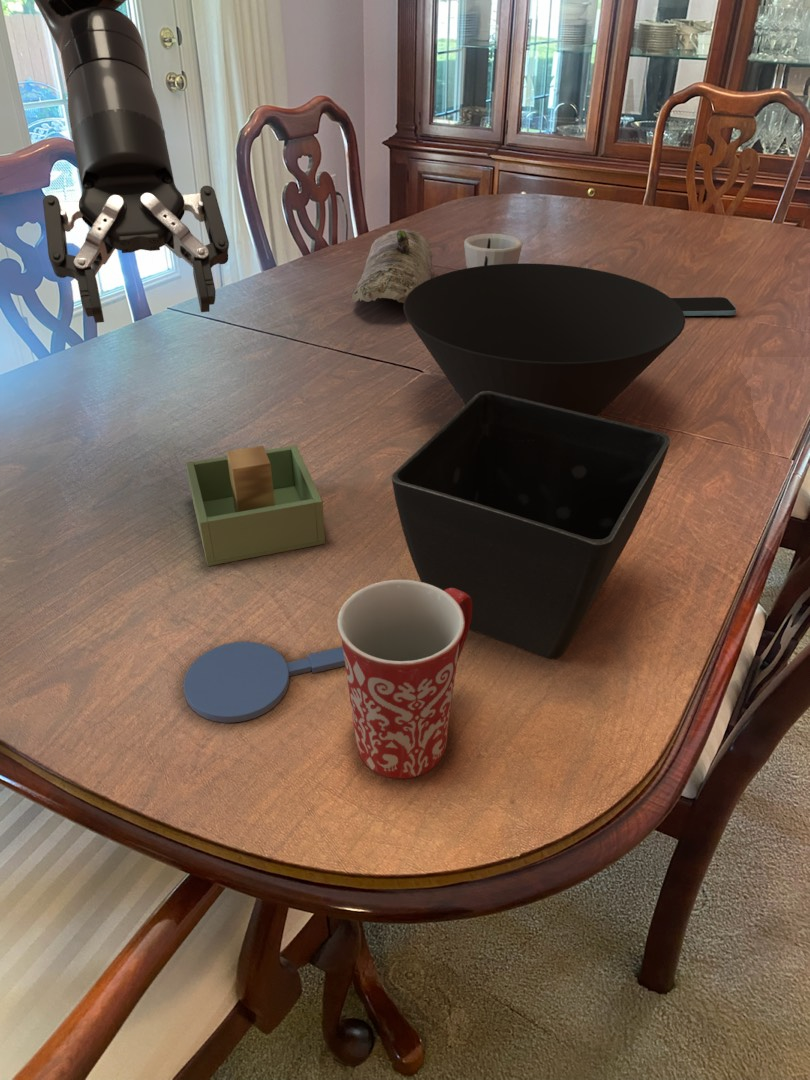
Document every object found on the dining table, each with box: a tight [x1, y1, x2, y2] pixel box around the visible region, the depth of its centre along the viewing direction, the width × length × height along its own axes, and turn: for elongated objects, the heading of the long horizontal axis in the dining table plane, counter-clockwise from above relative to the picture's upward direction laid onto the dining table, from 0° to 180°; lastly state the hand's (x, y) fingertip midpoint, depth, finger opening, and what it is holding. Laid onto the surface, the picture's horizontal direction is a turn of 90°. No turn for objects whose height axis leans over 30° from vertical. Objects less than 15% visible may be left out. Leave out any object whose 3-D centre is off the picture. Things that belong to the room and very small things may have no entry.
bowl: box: [403, 262, 686, 417], centre depth 109 cm, size 36×36×15 cm
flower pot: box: [391, 391, 672, 660], centre depth 75 cm, size 19×19×17 cm
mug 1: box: [336, 579, 472, 779], centre depth 63 cm, size 13×9×14 cm
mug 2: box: [463, 233, 523, 268], centre depth 150 cm, size 10×15×10 cm
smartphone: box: [670, 296, 738, 317], centre depth 145 cm, size 7×1×15 cm
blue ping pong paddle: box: [183, 641, 345, 724], centre depth 72 cm, size 18×9×1 cm, turn 109°
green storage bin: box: [185, 444, 326, 567], centre depth 89 cm, size 13×13×6 cm
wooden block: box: [226, 445, 275, 512], centre depth 88 cm, size 4×4×8 cm
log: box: [351, 228, 433, 304], centre depth 148 cm, size 14×12×30 cm
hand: (153, 313), depth 67 cm, fingers open, 8 cm apart
